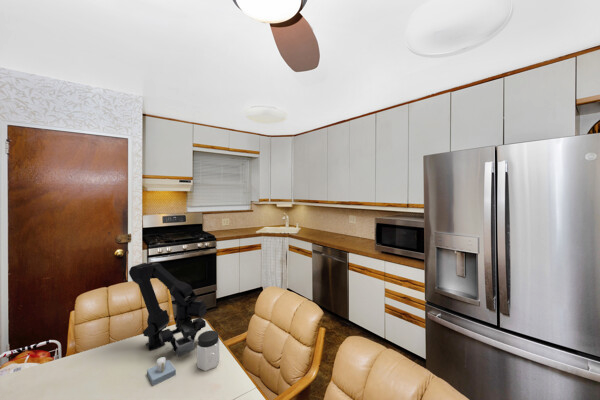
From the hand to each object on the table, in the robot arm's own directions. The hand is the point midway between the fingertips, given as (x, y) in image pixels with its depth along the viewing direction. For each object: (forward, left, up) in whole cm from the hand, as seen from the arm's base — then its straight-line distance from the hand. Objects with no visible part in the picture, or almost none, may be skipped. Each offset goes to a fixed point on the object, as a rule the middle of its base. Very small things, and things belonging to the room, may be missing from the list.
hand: (183, 347), depth 112 cm
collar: (0, 0, -1) cm, 1 cm away
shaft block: (+10, -12, -1) cm, 16 cm away
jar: (+17, +4, -1) cm, 18 cm away
